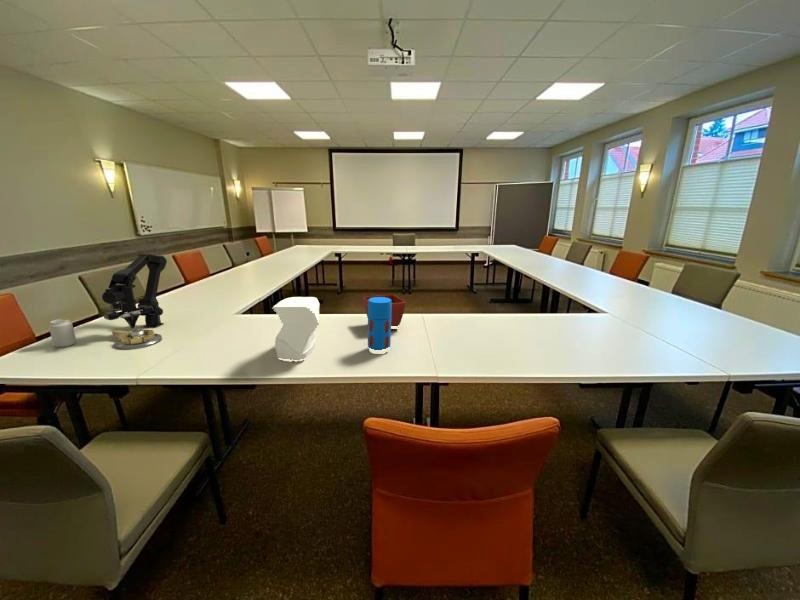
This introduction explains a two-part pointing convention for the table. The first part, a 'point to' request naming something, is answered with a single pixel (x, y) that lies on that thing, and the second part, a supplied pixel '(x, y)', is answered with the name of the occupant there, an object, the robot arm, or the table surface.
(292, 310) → the white irregular block
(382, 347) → the thermos
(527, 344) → the table surface
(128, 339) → the wooden gear crank
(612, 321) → the table surface
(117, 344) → the cap plate
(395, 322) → the plant pot
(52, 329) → the can
